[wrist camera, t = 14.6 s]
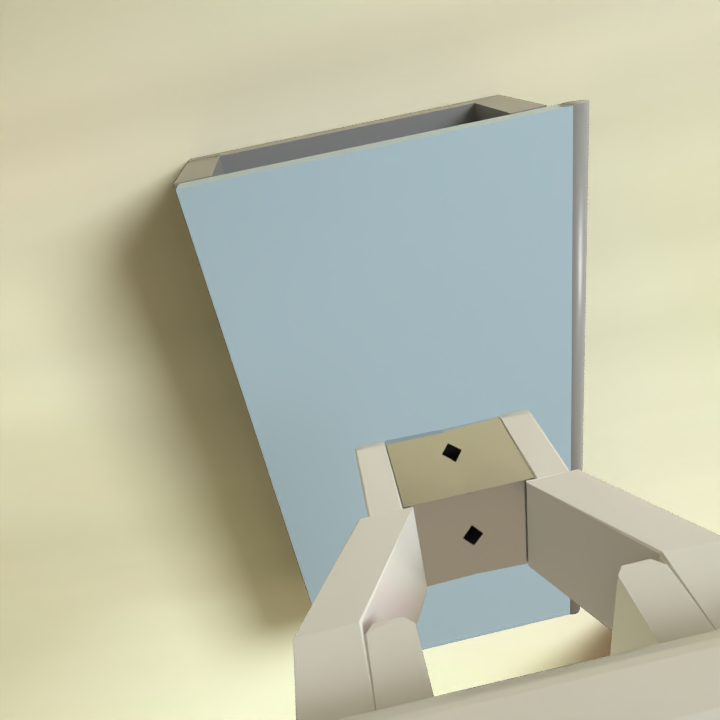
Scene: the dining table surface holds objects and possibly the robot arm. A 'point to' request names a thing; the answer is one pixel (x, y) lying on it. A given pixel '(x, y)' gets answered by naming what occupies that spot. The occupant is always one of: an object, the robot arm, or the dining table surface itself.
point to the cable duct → (351, 138)
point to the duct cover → (405, 319)
